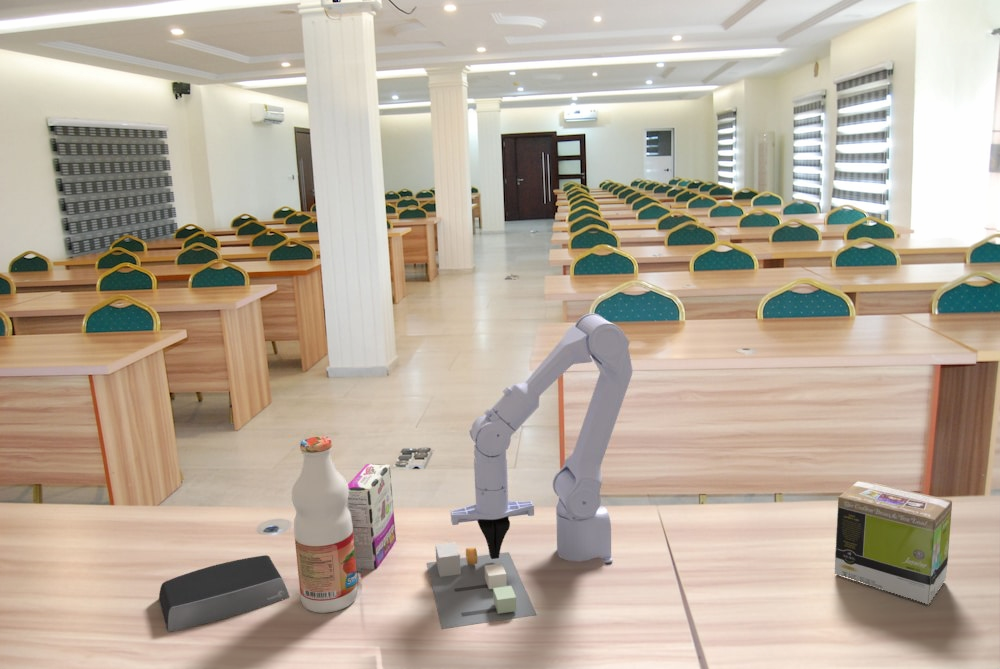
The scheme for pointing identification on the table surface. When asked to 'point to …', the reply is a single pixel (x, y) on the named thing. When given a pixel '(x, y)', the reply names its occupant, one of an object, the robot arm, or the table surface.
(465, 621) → the control panel
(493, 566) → the off-white slider
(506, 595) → the sage slider
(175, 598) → the external hard drive
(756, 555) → the table surface
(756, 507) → the table surface
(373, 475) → the candy bar box
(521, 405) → the robot arm
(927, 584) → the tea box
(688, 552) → the table surface
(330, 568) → the fruit juice
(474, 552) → the orange button
